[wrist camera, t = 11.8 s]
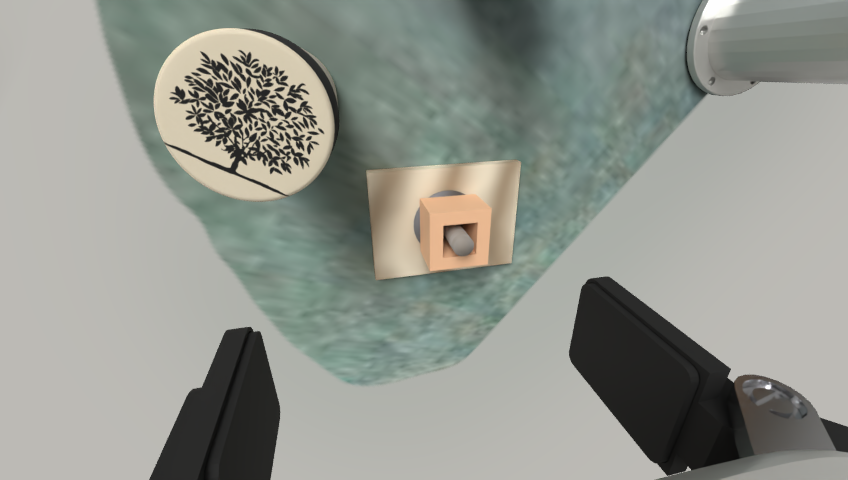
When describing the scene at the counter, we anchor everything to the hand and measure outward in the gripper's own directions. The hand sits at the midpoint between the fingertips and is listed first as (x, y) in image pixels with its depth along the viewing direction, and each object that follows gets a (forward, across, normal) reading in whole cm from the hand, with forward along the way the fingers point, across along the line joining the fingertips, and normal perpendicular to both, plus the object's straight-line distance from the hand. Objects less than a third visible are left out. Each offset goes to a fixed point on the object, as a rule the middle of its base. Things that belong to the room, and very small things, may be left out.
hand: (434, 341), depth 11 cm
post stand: (+28, -8, +8) cm, 30 cm away
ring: (+27, -8, +8) cm, 29 cm away
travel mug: (+28, +6, -5) cm, 30 cm away
